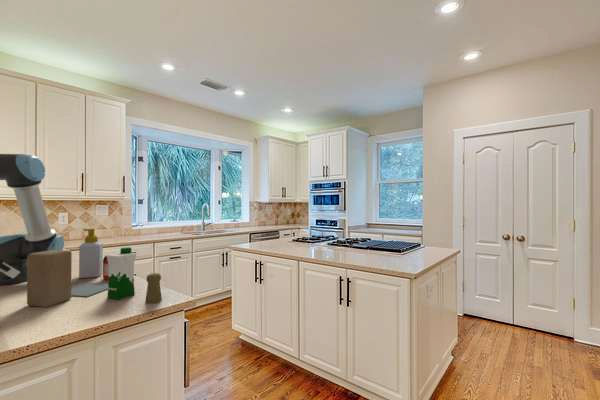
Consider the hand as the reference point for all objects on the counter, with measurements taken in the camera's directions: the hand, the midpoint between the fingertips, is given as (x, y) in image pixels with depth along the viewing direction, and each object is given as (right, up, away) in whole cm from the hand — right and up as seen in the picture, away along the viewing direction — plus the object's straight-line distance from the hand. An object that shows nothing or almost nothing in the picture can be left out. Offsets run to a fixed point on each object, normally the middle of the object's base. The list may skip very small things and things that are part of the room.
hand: (16, 275), depth 106 cm
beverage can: (+6, -13, +44) cm, 46 cm away
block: (+5, -13, +9) cm, 17 cm away
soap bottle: (-8, -13, +49) cm, 51 cm away
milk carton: (+28, -14, +16) cm, 35 cm away
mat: (+7, -13, +25) cm, 30 cm away
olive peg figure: (+45, -14, +11) cm, 48 cm away
